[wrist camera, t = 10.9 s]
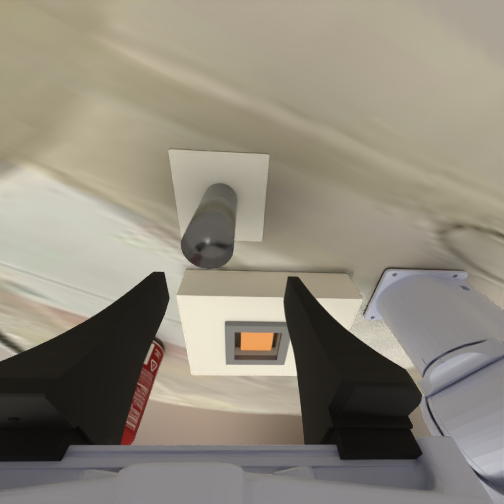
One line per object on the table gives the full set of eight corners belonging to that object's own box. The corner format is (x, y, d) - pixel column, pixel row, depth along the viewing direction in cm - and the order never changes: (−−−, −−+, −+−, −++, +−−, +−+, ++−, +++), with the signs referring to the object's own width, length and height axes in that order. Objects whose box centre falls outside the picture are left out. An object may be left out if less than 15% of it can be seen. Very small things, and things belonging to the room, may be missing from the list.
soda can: (126, 324, 28) (57, 441, 18) (173, 342, 30) (136, 456, 20) (109, 349, 31) (42, 463, 21) (153, 364, 33) (113, 473, 23)
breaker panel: (347, 273, 24) (366, 303, 20) (320, 348, 32) (330, 380, 28) (186, 269, 23) (174, 299, 20) (197, 346, 31) (190, 380, 27)
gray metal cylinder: (238, 184, 18) (234, 226, 12) (236, 217, 20) (232, 270, 13) (203, 181, 18) (178, 222, 11) (204, 214, 20) (182, 267, 13)
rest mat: (269, 154, 17) (269, 154, 17) (261, 239, 22) (262, 241, 21) (169, 148, 17) (168, 149, 17) (181, 237, 21) (181, 238, 21)
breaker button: (271, 309, 26) (274, 330, 23) (268, 328, 28) (270, 350, 25) (241, 308, 26) (241, 330, 23) (241, 328, 28) (240, 350, 25)
